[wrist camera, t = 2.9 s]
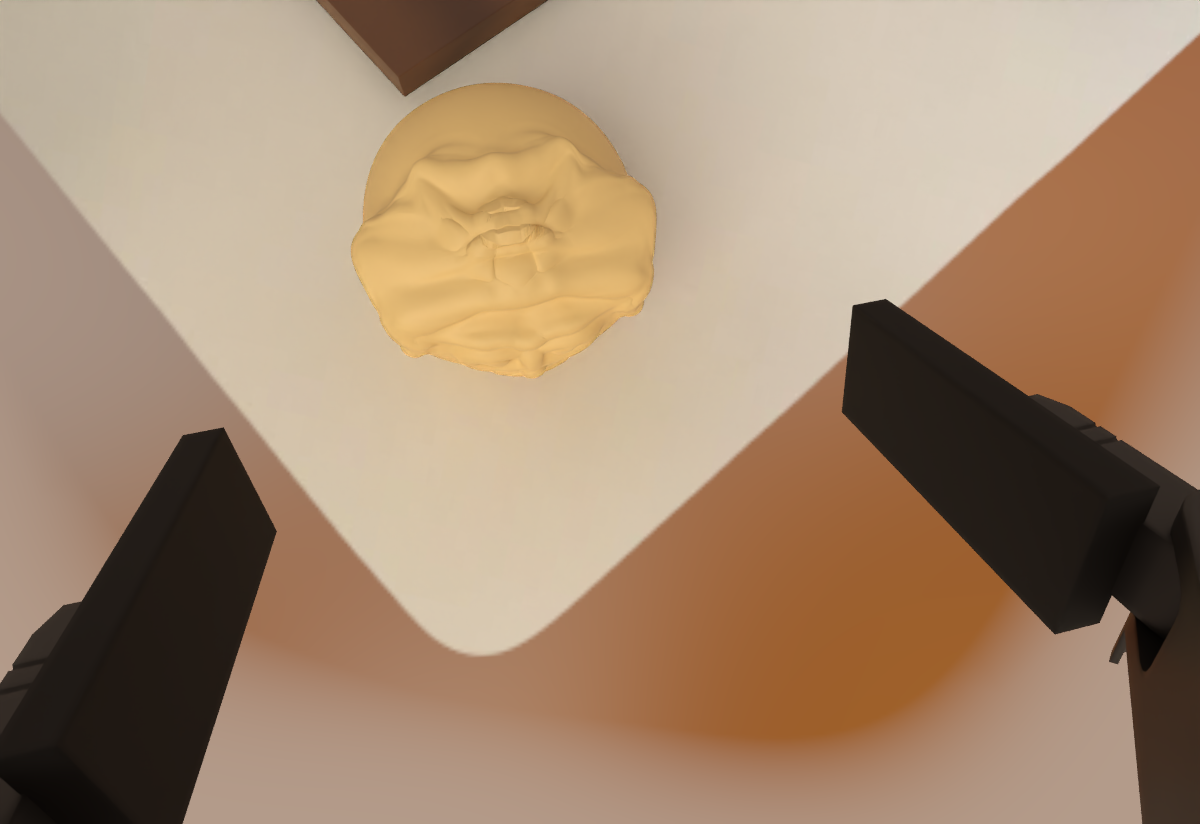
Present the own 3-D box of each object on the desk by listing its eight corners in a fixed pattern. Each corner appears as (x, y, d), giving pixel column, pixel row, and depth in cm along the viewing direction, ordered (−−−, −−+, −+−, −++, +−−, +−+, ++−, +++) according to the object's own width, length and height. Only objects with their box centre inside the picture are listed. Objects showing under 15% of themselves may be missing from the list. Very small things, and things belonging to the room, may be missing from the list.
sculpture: (417, 424, 31) (346, 353, 21) (378, 196, 34) (296, 29, 23) (653, 376, 32) (699, 286, 22) (599, 159, 35) (617, -15, 24)
